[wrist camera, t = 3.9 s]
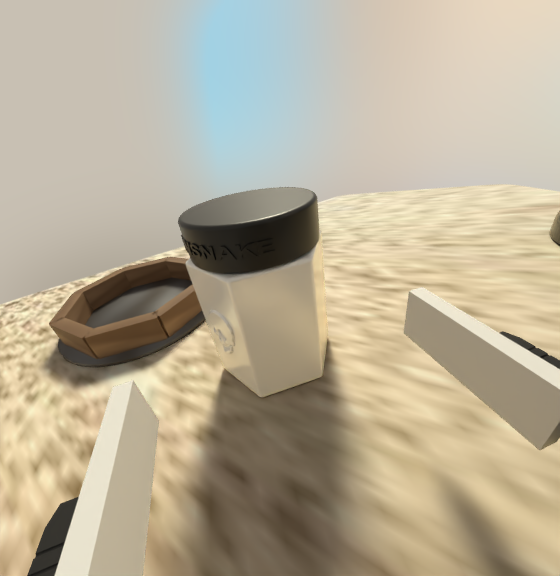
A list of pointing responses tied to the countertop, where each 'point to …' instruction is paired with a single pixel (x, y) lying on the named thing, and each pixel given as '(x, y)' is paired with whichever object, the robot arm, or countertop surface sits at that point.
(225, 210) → the jar
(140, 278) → the brown octagonal tray
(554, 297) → the countertop surface
